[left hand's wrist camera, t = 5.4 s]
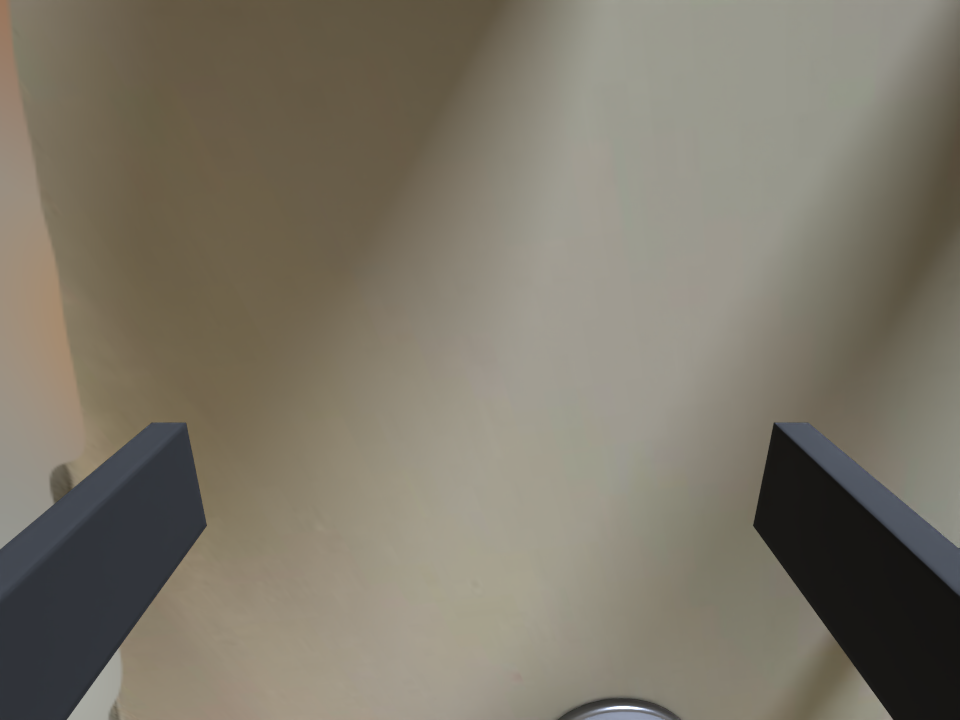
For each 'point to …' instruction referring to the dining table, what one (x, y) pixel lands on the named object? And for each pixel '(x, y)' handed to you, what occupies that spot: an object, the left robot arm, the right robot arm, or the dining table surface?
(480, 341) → the dining table surface
